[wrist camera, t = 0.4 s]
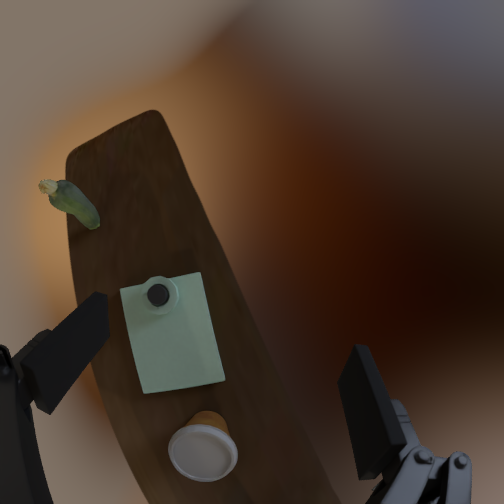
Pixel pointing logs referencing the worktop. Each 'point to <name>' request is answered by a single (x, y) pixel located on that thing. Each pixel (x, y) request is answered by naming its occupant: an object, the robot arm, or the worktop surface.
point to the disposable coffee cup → (203, 448)
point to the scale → (172, 335)
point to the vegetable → (71, 201)
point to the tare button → (157, 295)
